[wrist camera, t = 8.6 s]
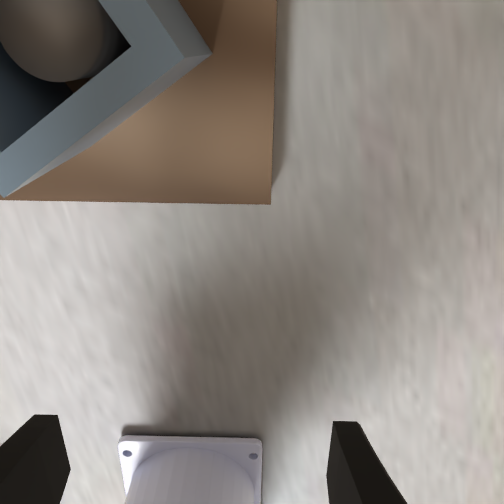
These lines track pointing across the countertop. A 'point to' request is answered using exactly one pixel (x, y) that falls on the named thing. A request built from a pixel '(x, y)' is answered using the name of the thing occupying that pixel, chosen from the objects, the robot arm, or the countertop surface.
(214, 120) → the base
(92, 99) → the duct sleeve
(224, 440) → the robot arm
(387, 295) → the countertop surface
